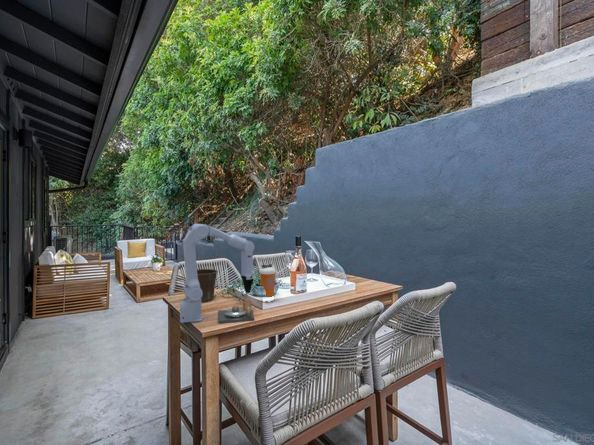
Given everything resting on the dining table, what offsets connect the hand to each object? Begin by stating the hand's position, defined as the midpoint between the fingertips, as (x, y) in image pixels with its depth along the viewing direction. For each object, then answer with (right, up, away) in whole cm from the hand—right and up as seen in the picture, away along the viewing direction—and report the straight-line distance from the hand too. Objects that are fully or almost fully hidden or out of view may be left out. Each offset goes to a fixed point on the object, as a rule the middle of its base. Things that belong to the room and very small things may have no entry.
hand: (247, 291), depth 163 cm
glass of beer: (+9, -9, +16) cm, 21 cm away
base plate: (-4, -10, -11) cm, 15 cm away
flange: (-3, -8, -9) cm, 13 cm away
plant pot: (-28, -9, +19) cm, 35 cm away
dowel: (+3, -9, -14) cm, 17 cm away
